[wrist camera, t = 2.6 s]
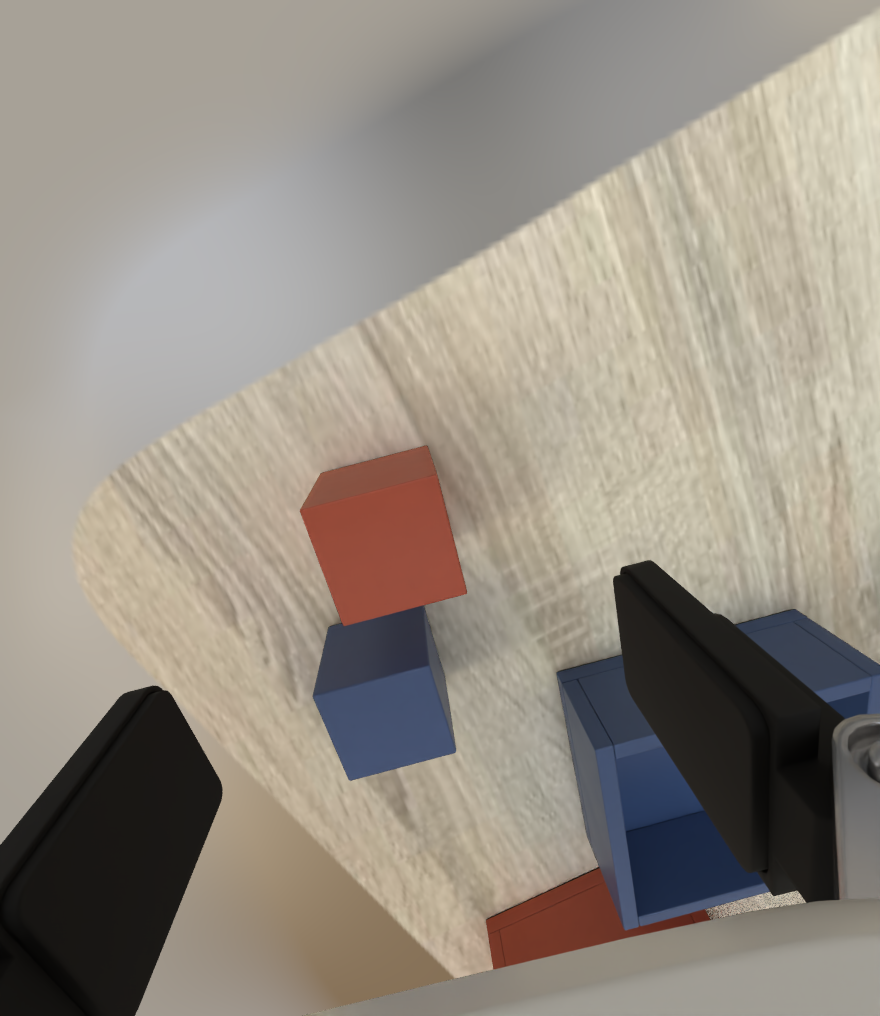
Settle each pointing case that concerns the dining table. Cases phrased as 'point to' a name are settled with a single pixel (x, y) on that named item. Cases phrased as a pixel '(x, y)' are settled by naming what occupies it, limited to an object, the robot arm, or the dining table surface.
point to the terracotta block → (383, 536)
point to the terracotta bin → (566, 923)
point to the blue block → (384, 694)
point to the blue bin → (662, 789)
